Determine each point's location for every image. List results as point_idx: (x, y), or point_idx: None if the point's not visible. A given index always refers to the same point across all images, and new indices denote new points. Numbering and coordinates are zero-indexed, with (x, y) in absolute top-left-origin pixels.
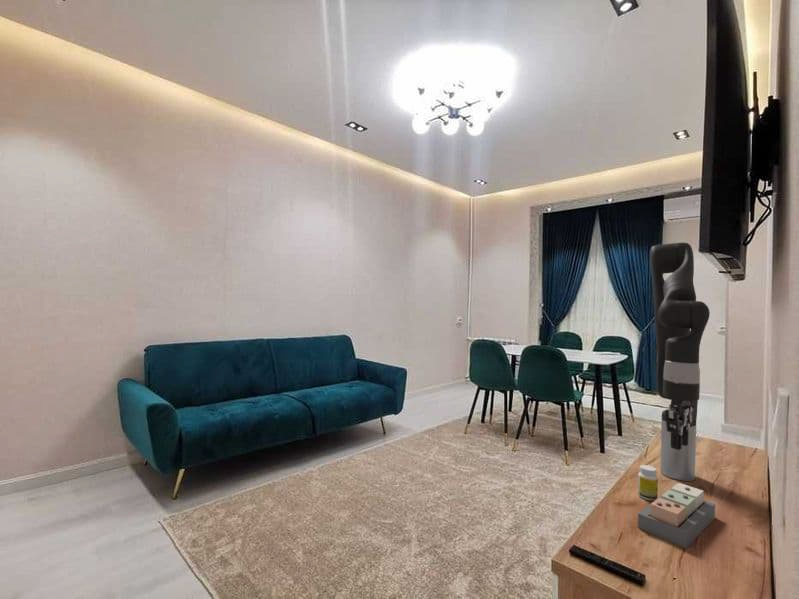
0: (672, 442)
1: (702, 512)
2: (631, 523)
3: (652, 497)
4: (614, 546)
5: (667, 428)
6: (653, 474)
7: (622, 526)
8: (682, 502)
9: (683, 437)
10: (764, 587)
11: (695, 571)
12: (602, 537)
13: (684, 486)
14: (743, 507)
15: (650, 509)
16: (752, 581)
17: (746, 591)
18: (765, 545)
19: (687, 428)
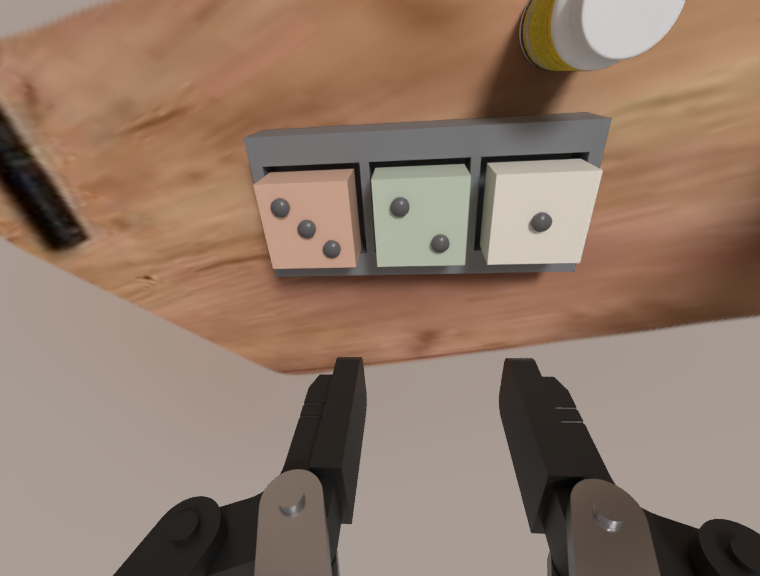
0: (306, 407)
1: (461, 265)
2: (267, 101)
3: (532, 61)
4: (97, 138)
5: (140, 551)
6: (587, 55)
7: (218, 92)
8: (384, 249)
9: (517, 443)
10: (295, 372)
11: (217, 294)
12: (93, 87)
13: (569, 202)
14: (720, 282)
15: (260, 179)
16: (294, 359)
17: (250, 359)
18: (480, 352)
19: (550, 573)
